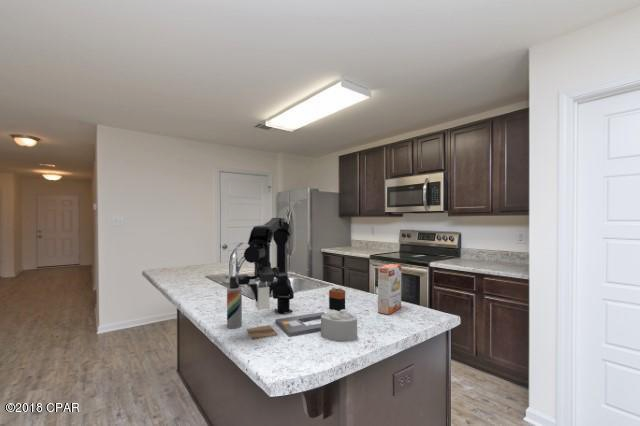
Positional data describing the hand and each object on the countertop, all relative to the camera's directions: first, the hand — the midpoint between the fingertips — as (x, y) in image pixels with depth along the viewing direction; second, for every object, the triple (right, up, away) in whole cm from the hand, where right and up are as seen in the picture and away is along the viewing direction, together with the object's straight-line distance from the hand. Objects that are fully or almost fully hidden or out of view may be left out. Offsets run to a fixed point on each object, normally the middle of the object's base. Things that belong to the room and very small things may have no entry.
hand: (262, 300), depth 116 cm
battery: (+30, -13, +29) cm, 44 cm away
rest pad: (0, -12, 0) cm, 12 cm away
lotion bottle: (-13, -13, +7) cm, 19 cm away
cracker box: (+55, -13, +27) cm, 62 cm away
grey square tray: (+17, -12, +8) cm, 22 cm away
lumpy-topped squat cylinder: (+29, -12, -4) cm, 32 cm away
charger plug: (0, -3, 0) cm, 3 cm away
